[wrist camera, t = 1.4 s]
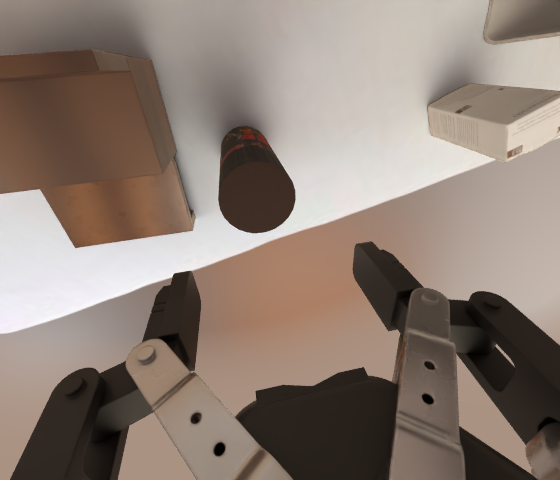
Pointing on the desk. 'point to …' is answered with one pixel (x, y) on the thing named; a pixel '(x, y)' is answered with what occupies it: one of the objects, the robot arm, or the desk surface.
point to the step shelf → (91, 144)
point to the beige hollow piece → (521, 20)
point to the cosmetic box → (496, 119)
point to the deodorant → (253, 183)
